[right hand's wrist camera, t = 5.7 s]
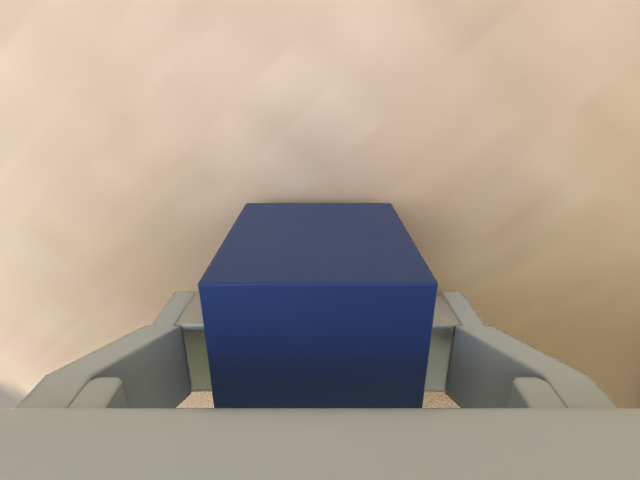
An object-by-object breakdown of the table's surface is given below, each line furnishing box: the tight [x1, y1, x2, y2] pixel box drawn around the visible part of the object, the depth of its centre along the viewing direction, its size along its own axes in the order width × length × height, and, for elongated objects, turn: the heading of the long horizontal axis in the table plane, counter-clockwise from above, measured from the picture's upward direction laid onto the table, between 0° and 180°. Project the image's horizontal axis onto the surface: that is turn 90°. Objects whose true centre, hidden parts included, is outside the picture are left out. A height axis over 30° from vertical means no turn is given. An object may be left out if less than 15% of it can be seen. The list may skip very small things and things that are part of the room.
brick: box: [198, 203, 438, 408], centre depth 10 cm, size 5×4×5 cm
